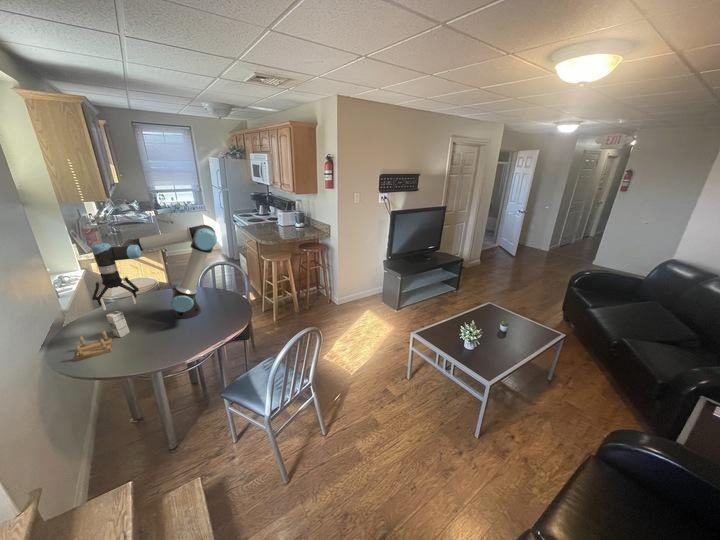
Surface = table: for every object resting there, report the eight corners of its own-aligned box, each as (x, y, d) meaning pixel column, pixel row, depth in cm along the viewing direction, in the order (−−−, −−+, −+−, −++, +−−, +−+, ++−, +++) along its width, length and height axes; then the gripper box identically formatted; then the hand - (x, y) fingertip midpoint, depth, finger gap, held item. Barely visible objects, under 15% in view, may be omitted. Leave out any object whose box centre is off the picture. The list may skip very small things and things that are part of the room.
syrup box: (130, 332, 173) (123, 311, 168) (120, 337, 168) (112, 316, 163) (123, 330, 175) (116, 310, 170) (113, 336, 170) (105, 314, 164)
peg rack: (80, 349, 158) (75, 337, 155) (112, 340, 166) (108, 328, 163) (76, 361, 149) (71, 348, 146) (111, 351, 157) (106, 339, 154)
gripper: (77, 279, 145) (90, 315, 153) (137, 269, 159) (147, 302, 167) (78, 274, 151) (92, 309, 159) (137, 265, 165) (146, 297, 173)
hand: (120, 306), depth 163 cm, fingers open, 13 cm apart
